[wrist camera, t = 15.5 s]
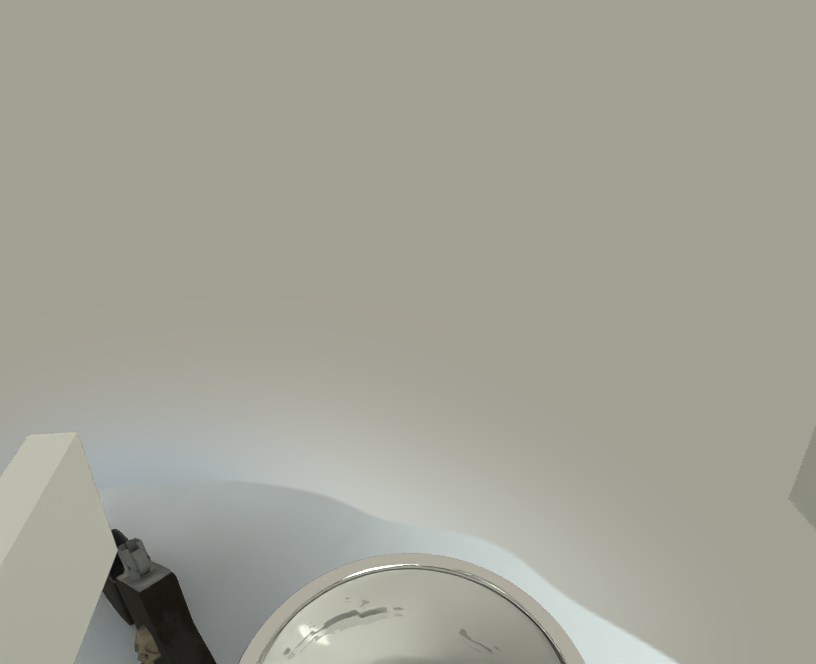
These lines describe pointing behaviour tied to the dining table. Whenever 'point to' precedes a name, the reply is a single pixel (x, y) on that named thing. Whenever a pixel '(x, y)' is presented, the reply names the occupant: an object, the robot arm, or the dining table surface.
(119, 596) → the lighter
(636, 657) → the dining table surface
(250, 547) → the dining table surface
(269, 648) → the beer glass
